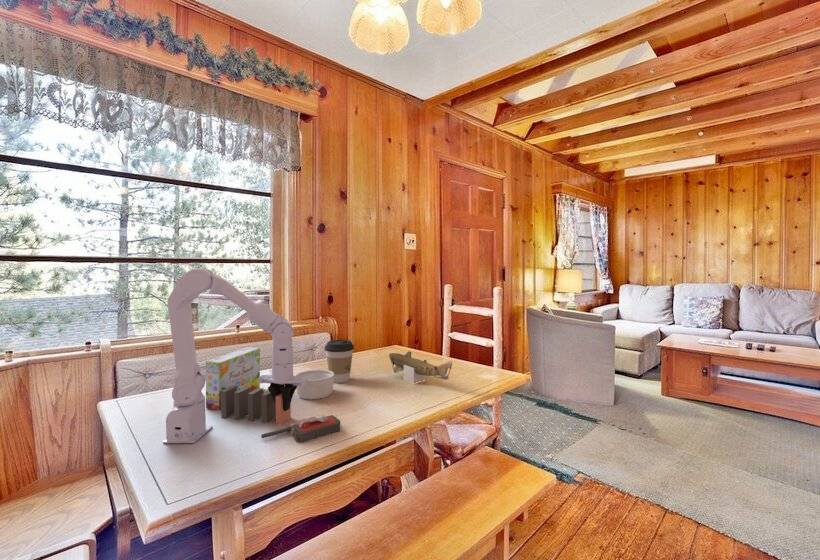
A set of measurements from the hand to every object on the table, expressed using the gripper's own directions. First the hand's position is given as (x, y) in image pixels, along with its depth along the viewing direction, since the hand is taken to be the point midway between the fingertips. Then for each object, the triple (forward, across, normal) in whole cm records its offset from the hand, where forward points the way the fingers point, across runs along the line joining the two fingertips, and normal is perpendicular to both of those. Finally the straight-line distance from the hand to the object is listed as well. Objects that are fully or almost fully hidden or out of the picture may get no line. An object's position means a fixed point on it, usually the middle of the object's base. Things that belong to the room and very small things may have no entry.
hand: (283, 409), depth 109 cm
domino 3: (+3, +9, 0) cm, 10 cm away
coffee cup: (+4, 0, -38) cm, 38 cm away
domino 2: (+3, +14, 0) cm, 14 cm away
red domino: (+3, 0, 0) cm, 3 cm away
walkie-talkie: (+4, -10, +6) cm, 12 cm away
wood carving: (+4, -30, -44) cm, 53 cm away
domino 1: (+3, +18, 0) cm, 18 cm away
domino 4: (+3, +4, 0) cm, 6 cm away
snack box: (+4, +26, -13) cm, 29 cm away
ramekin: (+4, +2, -22) cm, 23 cm away
